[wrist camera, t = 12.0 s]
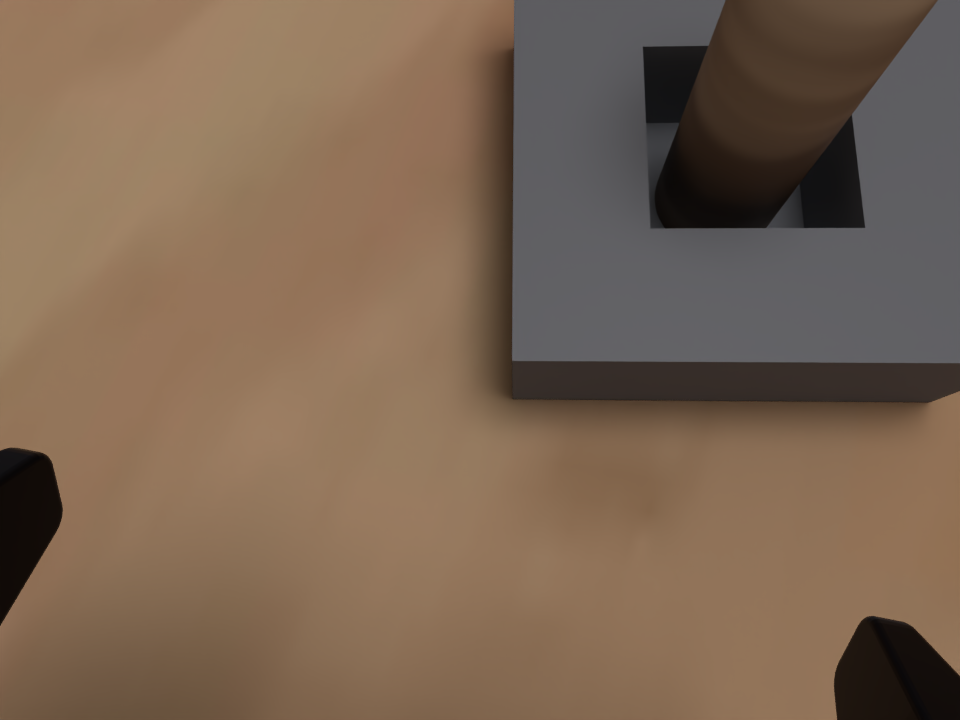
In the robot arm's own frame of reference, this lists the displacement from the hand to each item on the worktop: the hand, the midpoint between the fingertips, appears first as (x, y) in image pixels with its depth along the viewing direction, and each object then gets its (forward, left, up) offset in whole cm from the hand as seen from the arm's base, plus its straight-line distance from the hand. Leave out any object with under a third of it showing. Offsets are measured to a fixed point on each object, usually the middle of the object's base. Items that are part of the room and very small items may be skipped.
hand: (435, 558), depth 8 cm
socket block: (+11, -7, -14) cm, 19 cm away
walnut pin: (+11, -7, -13) cm, 18 cm away
